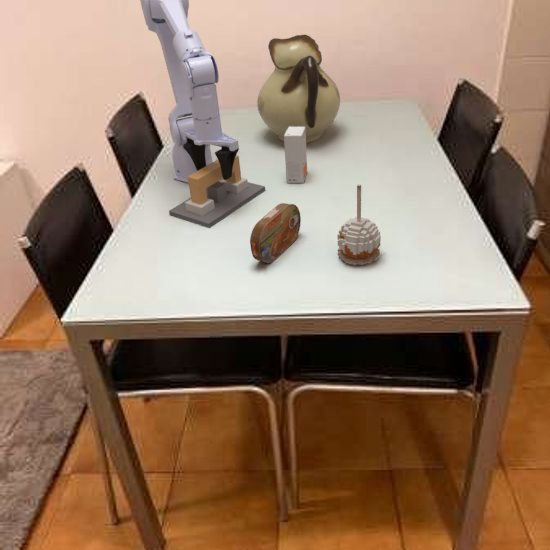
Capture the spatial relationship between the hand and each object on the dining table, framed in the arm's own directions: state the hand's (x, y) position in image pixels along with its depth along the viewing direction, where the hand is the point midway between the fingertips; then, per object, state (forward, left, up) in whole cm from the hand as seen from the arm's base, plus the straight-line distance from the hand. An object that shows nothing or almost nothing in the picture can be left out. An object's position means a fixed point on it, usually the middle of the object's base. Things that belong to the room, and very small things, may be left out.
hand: (214, 174), depth 133 cm
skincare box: (+9, +19, -7) cm, 22 cm away
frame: (0, 0, -4) cm, 4 cm away
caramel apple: (+39, -4, -7) cm, 40 cm away
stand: (0, 0, -7) cm, 7 cm away
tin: (+24, -10, -7) cm, 27 cm away
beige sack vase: (-5, +42, -7) cm, 43 cm away
